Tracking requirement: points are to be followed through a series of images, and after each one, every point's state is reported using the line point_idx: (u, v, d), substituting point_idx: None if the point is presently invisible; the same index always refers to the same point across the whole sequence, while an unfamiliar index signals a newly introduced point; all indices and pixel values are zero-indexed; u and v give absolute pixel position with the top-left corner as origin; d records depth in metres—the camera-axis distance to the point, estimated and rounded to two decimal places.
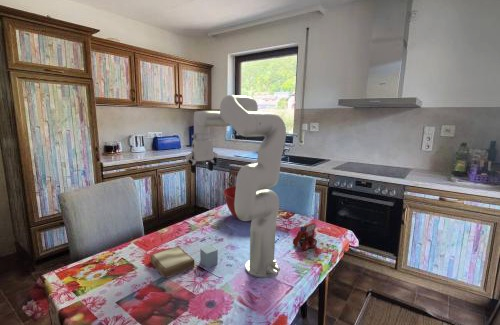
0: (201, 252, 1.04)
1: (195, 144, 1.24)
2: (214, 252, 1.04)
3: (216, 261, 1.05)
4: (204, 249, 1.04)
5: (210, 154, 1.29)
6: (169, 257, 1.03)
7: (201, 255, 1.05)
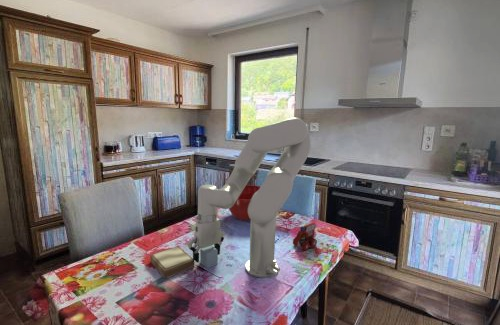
0: (201, 252, 1.04)
1: (199, 228, 0.99)
2: (214, 252, 1.04)
3: (216, 261, 1.05)
4: (204, 249, 1.04)
5: (217, 237, 1.04)
6: (169, 257, 1.03)
7: (201, 255, 1.05)
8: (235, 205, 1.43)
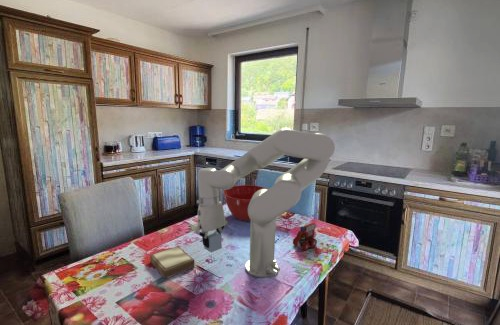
0: None
1: (202, 212, 0.97)
2: (218, 236, 1.02)
3: (220, 246, 1.03)
4: None
5: (221, 220, 1.02)
6: (169, 257, 1.03)
7: None
8: (235, 205, 1.43)
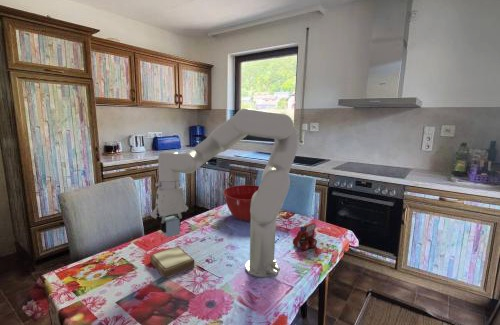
0: None
1: (159, 195, 0.95)
2: (176, 222, 1.00)
3: (178, 231, 1.01)
4: (165, 219, 1.00)
5: (181, 205, 1.00)
6: (169, 257, 1.03)
7: None
8: (235, 205, 1.43)
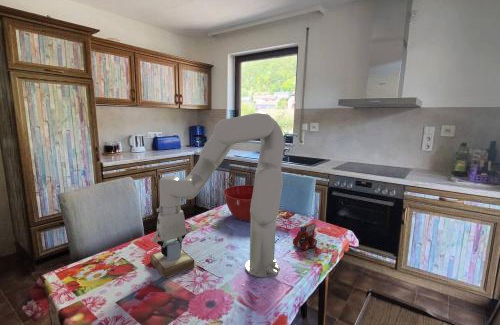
0: None
1: (161, 220, 0.96)
2: (177, 245, 1.01)
3: (179, 255, 1.02)
4: (167, 242, 1.02)
5: (181, 229, 1.01)
6: None
7: None
8: (235, 205, 1.43)
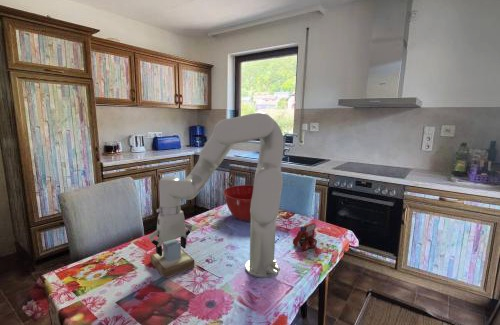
0: (163, 246, 1.02)
1: (161, 221, 0.96)
2: (177, 246, 1.01)
3: (179, 255, 1.02)
4: (167, 243, 1.02)
5: (181, 230, 1.01)
6: None
7: (164, 249, 1.02)
8: (235, 205, 1.43)
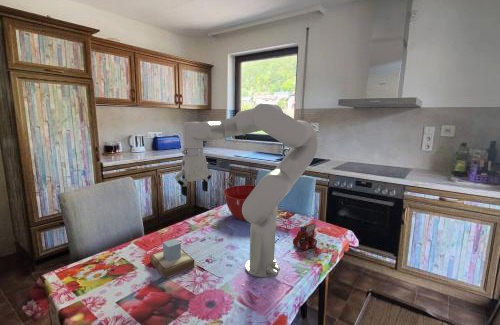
0: (163, 246, 1.02)
1: (186, 161, 1.03)
2: (177, 246, 1.01)
3: (179, 255, 1.02)
4: (167, 243, 1.02)
5: (204, 172, 1.08)
6: None
7: (164, 249, 1.02)
8: (235, 205, 1.43)
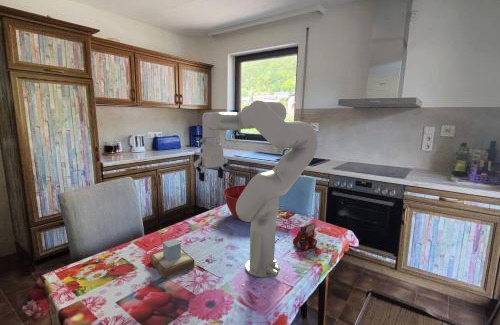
0: (163, 246, 1.02)
1: (204, 149, 1.11)
2: (177, 246, 1.01)
3: (179, 255, 1.02)
4: (167, 243, 1.02)
5: (220, 160, 1.16)
6: None
7: (164, 249, 1.02)
8: (235, 205, 1.43)
